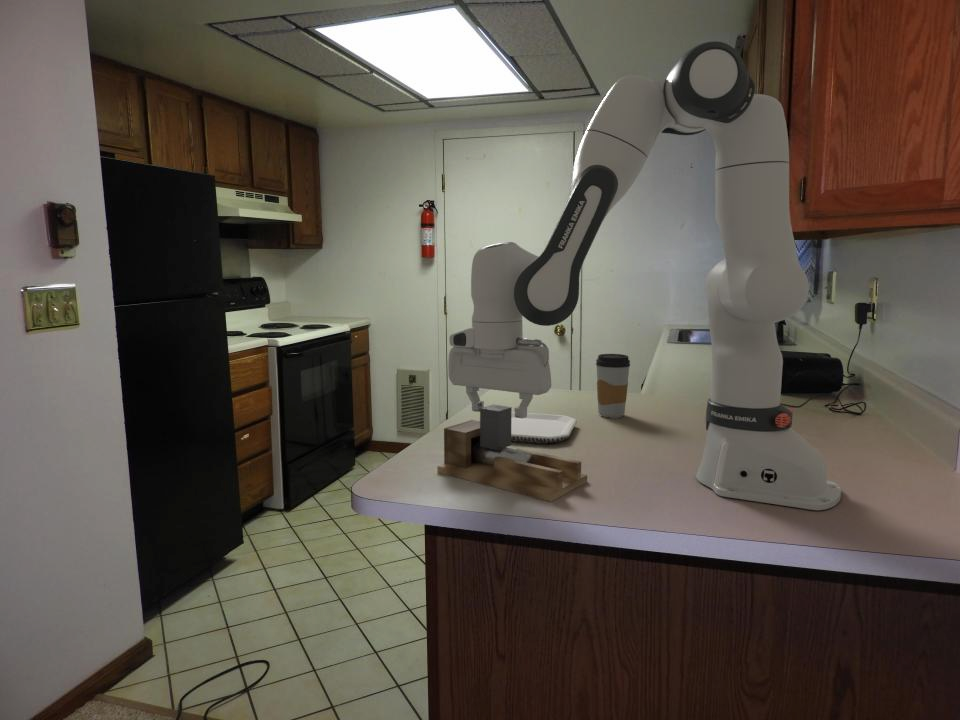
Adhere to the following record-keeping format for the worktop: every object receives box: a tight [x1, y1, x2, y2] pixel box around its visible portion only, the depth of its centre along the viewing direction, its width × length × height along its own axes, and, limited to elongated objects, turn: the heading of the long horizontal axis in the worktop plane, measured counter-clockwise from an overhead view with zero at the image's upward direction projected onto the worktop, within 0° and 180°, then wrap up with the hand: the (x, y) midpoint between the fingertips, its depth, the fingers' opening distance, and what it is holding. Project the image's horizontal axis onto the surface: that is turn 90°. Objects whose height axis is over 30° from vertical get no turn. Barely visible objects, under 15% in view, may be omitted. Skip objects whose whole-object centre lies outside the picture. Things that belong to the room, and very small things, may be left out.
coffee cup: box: [595, 353, 631, 419], centre depth 160 cm, size 8×8×15 cm
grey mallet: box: [471, 403, 534, 465], centre depth 116 cm, size 14×4×11 cm, turn 52°
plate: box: [511, 411, 578, 444], centre depth 146 cm, size 21×21×2 cm
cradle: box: [437, 419, 588, 503], centre depth 114 cm, size 24×12×8 cm, turn 52°
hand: (498, 414), depth 115 cm, fingers open, 8 cm apart
